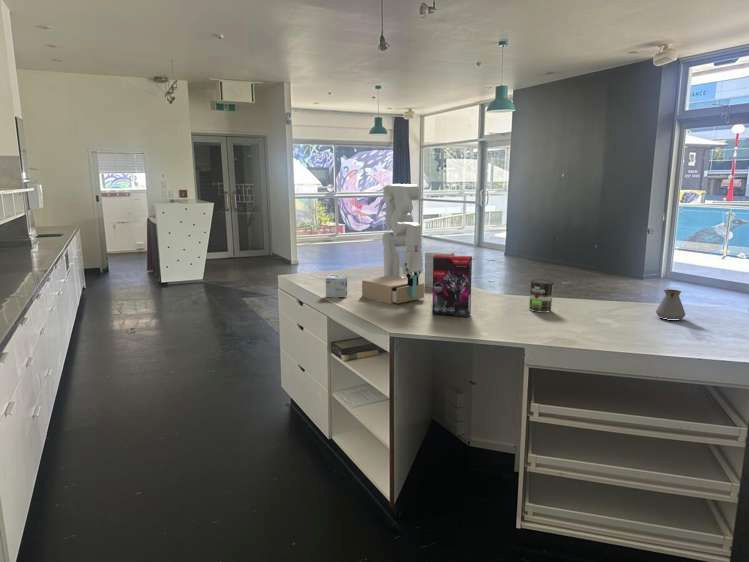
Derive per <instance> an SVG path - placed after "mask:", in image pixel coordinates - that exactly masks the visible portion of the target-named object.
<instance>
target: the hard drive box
mask: <svg viewBox="0 0 749 562" xmlns="http://www.w3.org/2000/svg"><path fill="white" fill-rule="evenodd" d="M435 255H454V256H455V252H445V251H443V252H441V251H428V252H425V253H424V287H427V286H428V287H429V288H433V257H434V256H435ZM428 287H427V288H428Z"/></svg>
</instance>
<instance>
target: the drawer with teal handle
mask: <svg viewBox="0 0 749 562" xmlns="http://www.w3.org/2000/svg"><path fill="white" fill-rule="evenodd" d="M412 278H413V286H408V285H405V286H399V287H394V288H392V301H393V302H396V303H395V304H401V303H406V302H411V301H415V300H420V299H424V298H425V282H424V283H419V284H418V285H417V276H416V275H414V274H412Z"/></svg>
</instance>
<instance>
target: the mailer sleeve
mask: <svg viewBox="0 0 749 562" xmlns="http://www.w3.org/2000/svg"><path fill="white" fill-rule="evenodd" d="M418 284H420V282H419V280H418ZM405 285H408V278H406V279H404V278H399V277H394V276H384V275H383V276H377V277H374V278H367V279H362V280H361V297H362V296H363V297H362V298H365V297H366V298H365V299H369V298H370V299H369V300H374V301H377V302H382V303H385V304H388V305H394V304H397V303H396V302H393V301H392V288H394V287H399V286H405Z"/></svg>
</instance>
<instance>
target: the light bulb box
mask: <svg viewBox="0 0 749 562" xmlns="http://www.w3.org/2000/svg"><path fill="white" fill-rule="evenodd" d="M346 296H348V276H347V275H345V276H343V275H340V276H339V275H327V276H326V277H325V298H326V297H346ZM346 298H347V297H346Z"/></svg>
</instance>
